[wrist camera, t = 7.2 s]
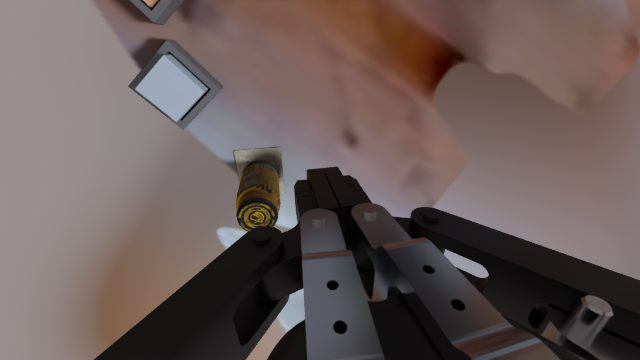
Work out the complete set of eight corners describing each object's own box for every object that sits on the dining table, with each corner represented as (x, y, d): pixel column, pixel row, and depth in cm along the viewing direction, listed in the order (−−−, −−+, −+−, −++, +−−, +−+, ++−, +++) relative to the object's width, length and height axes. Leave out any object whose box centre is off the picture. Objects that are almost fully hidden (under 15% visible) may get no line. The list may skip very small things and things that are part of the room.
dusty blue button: (172, 54, 32) (163, 54, 29) (209, 88, 34) (204, 91, 32) (145, 85, 33) (134, 89, 30) (183, 116, 35) (176, 121, 33)
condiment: (242, 196, 44) (234, 242, 34) (233, 150, 41) (221, 186, 30) (284, 191, 46) (289, 235, 35) (280, 146, 42) (284, 179, 31)
